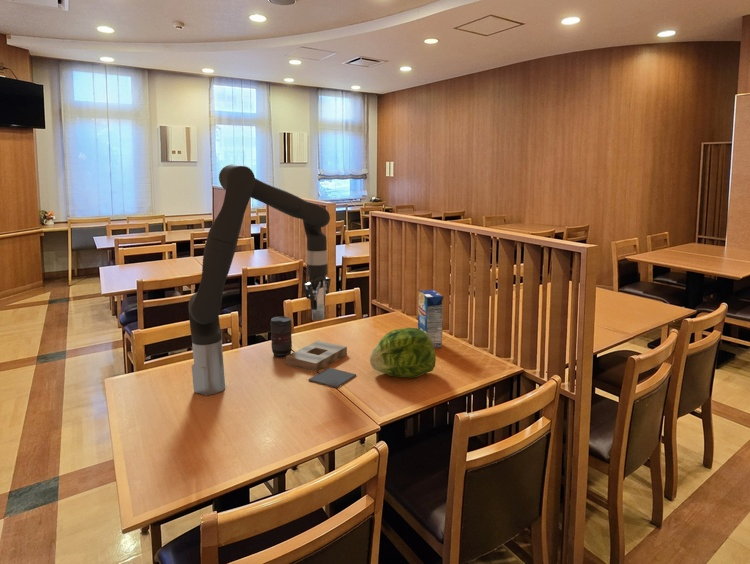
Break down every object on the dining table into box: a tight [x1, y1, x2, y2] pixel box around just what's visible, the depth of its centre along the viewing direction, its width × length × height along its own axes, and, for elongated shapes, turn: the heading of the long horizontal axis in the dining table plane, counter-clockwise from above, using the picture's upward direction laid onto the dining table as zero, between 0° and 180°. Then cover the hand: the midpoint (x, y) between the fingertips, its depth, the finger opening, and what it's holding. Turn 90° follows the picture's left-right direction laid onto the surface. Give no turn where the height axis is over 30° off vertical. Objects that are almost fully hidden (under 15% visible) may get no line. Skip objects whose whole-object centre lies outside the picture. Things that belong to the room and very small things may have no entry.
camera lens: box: [270, 315, 293, 359], centre depth 195 cm, size 8×8×15 cm
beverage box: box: [417, 289, 444, 349], centre depth 206 cm, size 7×11×22 cm, turn 14°
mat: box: [308, 367, 357, 389], centre depth 175 cm, size 12×12×1 cm
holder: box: [285, 340, 348, 373], centre depth 191 cm, size 20×14×4 cm
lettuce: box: [369, 327, 437, 379], centre depth 176 cm, size 18×23×19 cm
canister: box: [311, 287, 325, 322], centre depth 183 cm, size 4×4×12 cm
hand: (318, 307), depth 183 cm, fingers closed on canister, 4 cm apart
